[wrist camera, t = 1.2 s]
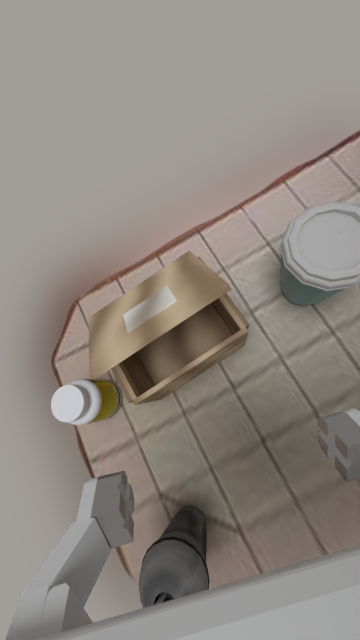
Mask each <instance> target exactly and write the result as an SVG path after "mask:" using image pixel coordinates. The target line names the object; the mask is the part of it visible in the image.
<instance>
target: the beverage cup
mask: <svg viewBox="0 0 360 640" xmlns="http://www.w3.org/2000/svg"><path fill="white" fill-rule="evenodd" d="M206 540H207V530H206V520H205V518H204V515H203V514H202V512H201V511H200V510H199V509H197V508H195V507H192V506H186V507H184V508H182V509H181V510H180V511H179V512H178V513H177V514H176V515H175V517H174V518H173V519H172V521H171V522H170V524H169V525H168V527H167V528H166V530H165V531H164V533H163V534H162V536H161V537H160V538H159V539H158V540H157V541H156V542H154V543H153V545H152V546H151V547H150V548H149V549H148V550H147V552H146V554H145V556H144V559H143V561H142V567H141V573H140V579H139V591H140V600H141V603H142V606H143V608H146V607H150V606H153V605H156V604H160V603H163V602H167V601H170V600H174V599H177V598H180V597H184V596H187V595H191V594H194V593H198V592H201V591H205V590H208V589H209V575H208V569H207V565H206Z"/></svg>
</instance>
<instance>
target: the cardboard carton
mask: <svg viewBox="0 0 360 640" xmlns="http://www.w3.org/2000/svg"><path fill="white" fill-rule="evenodd" d="M198 259H200V260H201V261H202V259H201V258H200V256H199V257H198ZM202 262H203V261H202ZM203 263H204V262H203ZM204 264H205V263H204ZM248 327H249V324H248V322H247V321H246V320H245V318H244V317H243V315H242V314H241V313H240V311H239V310H238V309H237V307H236V306H235V304H234V303H233V302H232V300H231V299H230V298H229V296H228V295H227V294H226V293H225V294H224V295H222V296H221V297H219V298H218V299H216V300H214V301H213V302H211V303H210V304H208V305H207V306H205V307H204V308H202V309H201V310H199V311H198V312H196V313H195V314H193V315H192V316H190V317H189V318H187V319H186V320H184V321H183V322H181V323H180V324H178V325H176V326H175V327H173V328H172V329H170V330H169V331H167V332H166V333H164V334H163V335H161V336H160V337H158V338H157V339H155V340H154V341H152V342H151V343H149V344H148V345H146V346H145V347H143V348H142V349H140V350H139V351H137V352H135V353H134V354H132V355H131V356H129V357H128V358H126V359H125V360H123V361H122V362H120V363H119V364H117V365H116V366H114V367H113V368H111V369H112V371H113V373H114V375H115V377H116V379H117V381H118V383H119V385H120V386H121V388H122V390H123V392H124V394H125V396H126V398H127V400H128V402H129V403H130V402H134V404H135V405H137V404H142V403H147V402H151V401H156V400H160V399H162V398H164V397H165V396H167V395H168V394H170V393H171V392H173V391H174V390H176V389H177V388H179V387H180V386H182V385H184V384H185V383H187V382H188V381H190V380H191V379H193V378H194V377H196V376H197V375H199V374H201V373H202V372H204V371H205V370H207V369H208V368H210V367H211V366H213V365H214V364H216V363H217V362H219V361H221V360H222V359H224V358H225V357H227V356H228V355H230V354H231V353H233V352H234V351H236V350H237V349H239V348H241V347H242V346H244V345H245V341H246V338H247V335H248Z"/></svg>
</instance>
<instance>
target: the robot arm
mask: <svg viewBox="0 0 360 640" xmlns="http://www.w3.org/2000/svg"><path fill="white" fill-rule="evenodd" d="M318 426H319V427H320V428H321V430H320V432H319V433H318V439H319V443H320V445H321V448H322V450H323V451H324V453H325V454H326V456H327V457H328V458H330V459H332V460H334V461H335V467H336V469H337V470H338V471H339V473H340V474H341V475H342V476H343V478H344V479H345V480H346V482H348V481H352V480H357V479H360V411H358V410H357V409H355V408H353V409H350V410H346V411H343V412H338V413H335V414H331V415H328V416H324V417H321V418H319V419H318ZM133 512H134V496H133V491H132V488H131V485H130V484H128V483H127V475H126V473H125V471H121V472H116V473H112V474H108V475H104V476H100V477H96V478H92V479H88V480H86V482H85V484H84V487H83V492H82V496H81V501H80V506H79V510H78V515H77V520H76V523H72V524H71V526H70V527H69V528H68V530H67V532H66V533H65V534H64V535H63V537H62V538H61V540H60V541H59V542H58V543H57V545H56V546H55V548H54V549H53V551H52V552H51V553H50V555H49V556H48V557H47V559H46V560H45V561H44V563H43V564H42V565H41V567H40V568H39V569H38V571H37V572H36V574H35V575H34V576H33V578H32V579H31V581H30V582H29V583H28V584H27V586H26V587H25V589H24V590H23V591H22V593H21V594H20V597H19V600H18V603H17V606H16V609H15V612H14V616H13V619H12V622H11V625H10V628H9V631H8V635H7V638H6V640H360V545H359V546H356V547H352V548H349V549H345V550H342V551H338V552H335V553H332V554H328V555H325V556H321V557H318V558H314V559H311V560H307V561H304V562H301V563H297V564H294V565H290V566H287V567H283V568H280V569H276V570H273V571H270V572H266V573H263V574H259V575H256V576H253V577H249V578H246V579H242V580H239V581H235V582H232V583H229V584H225V585H222V586H218V587H215V588H211V589H208V590H205V591H201V592H198V593H194V594H191V595H187V596H184V597H180V598H177V599H174V600H170V601H167V602H163V603H160V604H156V605H153V606H150V607H146V608H143V609H139V610H136V611H132V612H129V613H125V614H122V615H119V616H115V617H112V618H109V619H105V620H101V621H98V622H95V623H93V622H92V621H91V619H90V618H89V616H88V614H87V613H86V611H85V610H84V606H85V603H86V601H87V599H88V597H89V595H90V593H91V591H92V589H93V587H94V585H95V583H96V581H97V579H98V577H99V574H100V572H101V570H102V568H103V566H104V564H105V562H106V560H107V558H108V556H109V554H110V552H111V548H115V547H118V546H121V545H124V544H127V543H131V542H133V537H134V522H133V519H132V517H131V515H132V514H133Z"/></svg>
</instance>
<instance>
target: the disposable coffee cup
mask: <svg viewBox="0 0 360 640" xmlns="http://www.w3.org/2000/svg"><path fill="white" fill-rule="evenodd" d="M280 247H281V251H282V255H281V279H280V284H281V289H282V293H283V295H284V296H285V297H286V298H287V299H288V300H289V301H290V302H292V303H295V304H298V305H301V306H305V305H311V304H315V303H317V302H319V301H321V300H323V299H325V298H327V297H329V296H331V295H333V294H335V293H337V292H339V291H341V290H343V289H345V288H350V287H354V286H356V285H357V284H358V283H360V206H355V205H349V204H343V203H337V202H334V203H329V204H325V205H321V206H316V207H311V208H308V209H307V210H305V211H304V212H303V213H301V214H300V215H299V216H297V217H296V218H295V219H293V220H292V221H291V222H290V224H289V225H288V226H287V229H286V232H285V234H284V237H283V239H282V242H281V244H280Z"/></svg>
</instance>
